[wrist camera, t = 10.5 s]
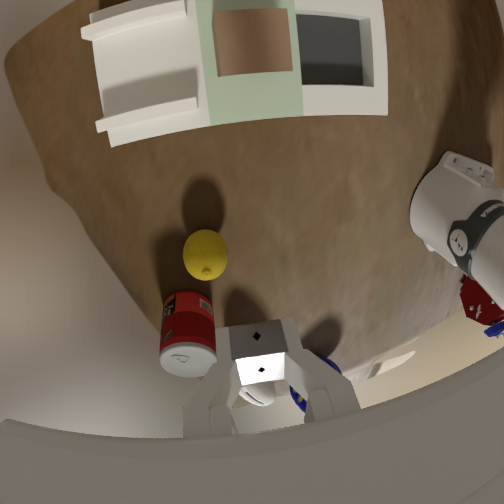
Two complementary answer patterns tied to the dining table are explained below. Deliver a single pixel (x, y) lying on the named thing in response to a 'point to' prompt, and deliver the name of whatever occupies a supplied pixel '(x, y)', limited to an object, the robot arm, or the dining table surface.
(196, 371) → the canned food
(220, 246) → the lemon
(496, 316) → the alarm clock
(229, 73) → the walnut block
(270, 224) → the dining table surface
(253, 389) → the white rounded block
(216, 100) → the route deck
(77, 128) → the dining table surface
